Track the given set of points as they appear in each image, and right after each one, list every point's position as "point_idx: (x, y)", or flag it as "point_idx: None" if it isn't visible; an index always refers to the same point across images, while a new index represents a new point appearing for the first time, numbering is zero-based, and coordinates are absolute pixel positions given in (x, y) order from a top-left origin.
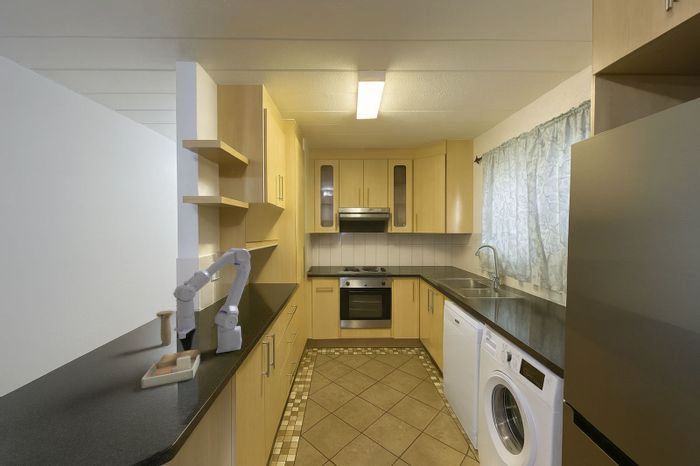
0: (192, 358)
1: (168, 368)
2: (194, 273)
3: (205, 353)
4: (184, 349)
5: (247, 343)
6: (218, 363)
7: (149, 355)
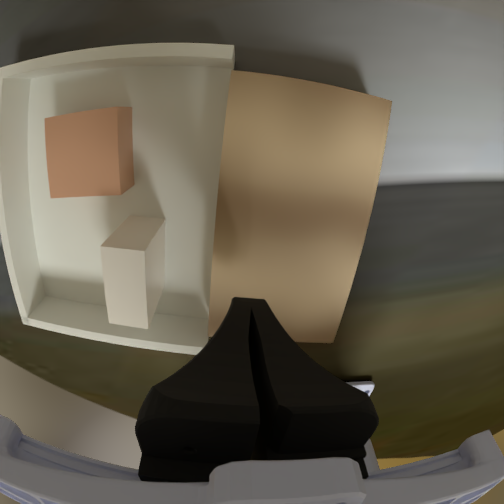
0: (209, 308)
1: (91, 181)
2: None
3: None
4: (231, 306)
5: None
6: None
7: (490, 39)
